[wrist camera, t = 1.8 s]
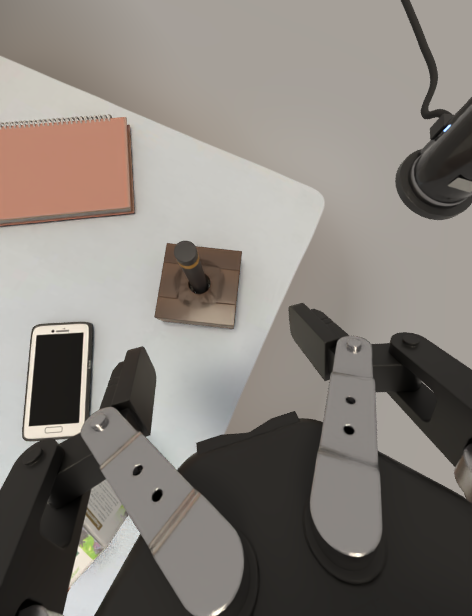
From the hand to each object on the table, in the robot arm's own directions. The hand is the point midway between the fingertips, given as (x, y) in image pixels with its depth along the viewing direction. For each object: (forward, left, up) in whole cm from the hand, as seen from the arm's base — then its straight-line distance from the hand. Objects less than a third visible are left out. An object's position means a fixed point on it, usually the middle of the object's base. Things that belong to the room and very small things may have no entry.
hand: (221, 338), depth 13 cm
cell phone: (+6, -21, -21) cm, 30 cm away
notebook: (-24, -31, -21) cm, 44 cm away
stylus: (-8, -4, -21) cm, 22 cm away
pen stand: (-8, -4, -21) cm, 22 cm away
